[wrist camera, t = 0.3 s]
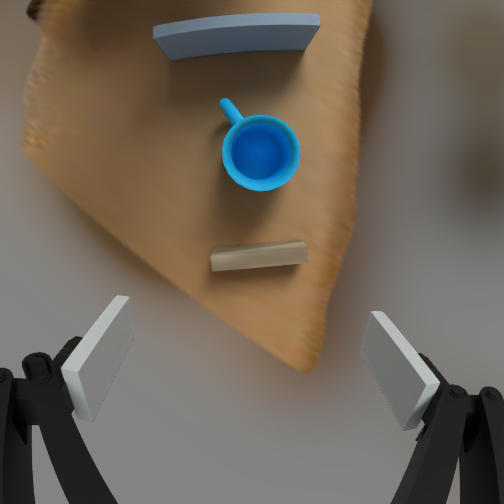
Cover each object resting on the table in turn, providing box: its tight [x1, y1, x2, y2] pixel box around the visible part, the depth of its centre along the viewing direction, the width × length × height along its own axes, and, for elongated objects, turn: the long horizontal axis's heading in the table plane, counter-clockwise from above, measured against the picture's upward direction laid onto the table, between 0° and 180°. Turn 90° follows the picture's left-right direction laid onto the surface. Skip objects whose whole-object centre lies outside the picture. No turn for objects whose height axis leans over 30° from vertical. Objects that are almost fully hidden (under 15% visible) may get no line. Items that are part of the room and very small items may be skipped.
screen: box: [153, 13, 321, 61], centre depth 30 cm, size 4×18×9 cm, turn 95°
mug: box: [219, 98, 300, 191], centre depth 35 cm, size 12×8×8 cm
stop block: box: [210, 240, 308, 271], centre depth 41 cm, size 2×12×4 cm, turn 94°
